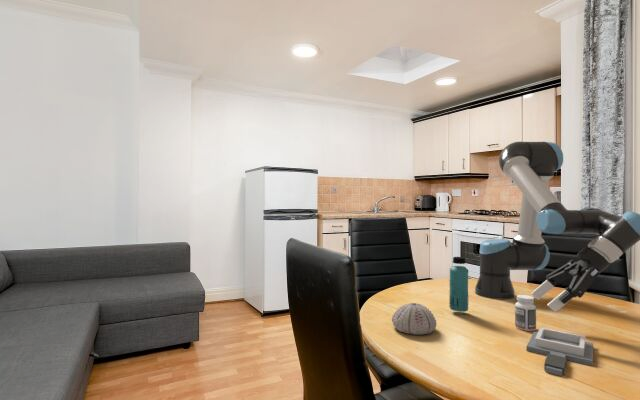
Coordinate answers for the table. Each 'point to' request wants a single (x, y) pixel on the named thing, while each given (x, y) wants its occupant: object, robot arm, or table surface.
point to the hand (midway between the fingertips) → (542, 302)
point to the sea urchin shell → (414, 319)
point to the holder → (560, 349)
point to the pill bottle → (525, 313)
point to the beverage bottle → (459, 286)
